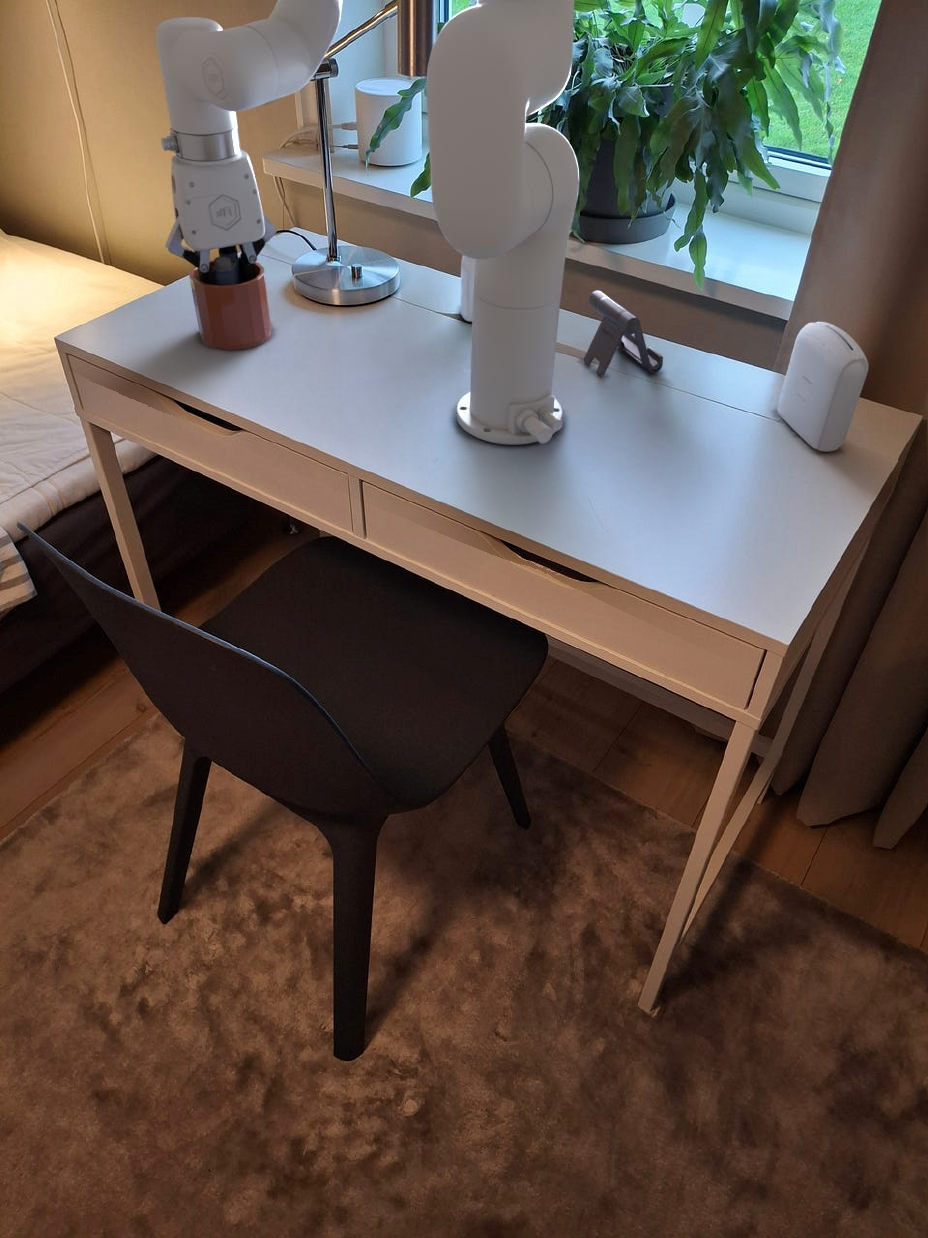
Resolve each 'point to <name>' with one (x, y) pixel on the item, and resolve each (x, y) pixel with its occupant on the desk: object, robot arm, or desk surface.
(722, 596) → the desk surface
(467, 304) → the eye dropper bottle
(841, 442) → the photo printer
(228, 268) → the vaping device
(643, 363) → the tablet stand
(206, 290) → the pen cup
